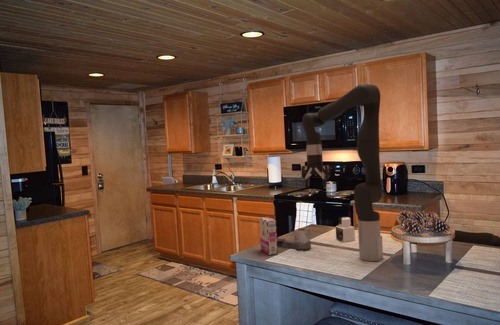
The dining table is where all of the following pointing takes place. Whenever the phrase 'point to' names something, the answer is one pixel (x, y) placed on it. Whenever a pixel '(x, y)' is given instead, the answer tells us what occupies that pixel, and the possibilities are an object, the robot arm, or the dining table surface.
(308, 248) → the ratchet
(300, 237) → the socket
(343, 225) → the medicine bottle
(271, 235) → the candy bar box
